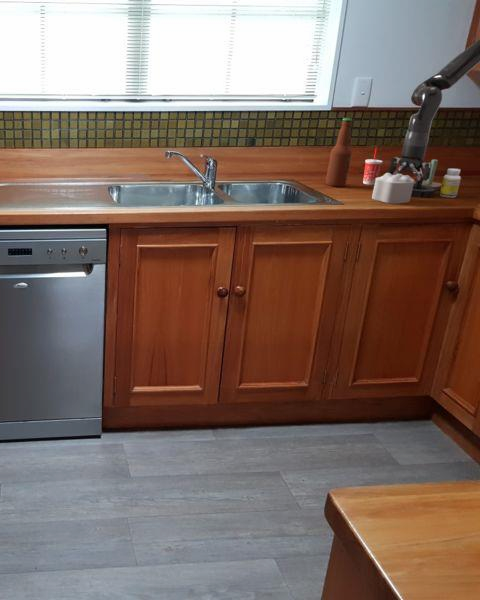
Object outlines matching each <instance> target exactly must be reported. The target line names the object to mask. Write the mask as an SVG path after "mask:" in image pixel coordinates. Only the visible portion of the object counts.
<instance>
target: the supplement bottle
mask: <svg viewBox="0 0 480 600" xmlns="http://www.w3.org/2000/svg"><path fill="white" fill-rule="evenodd" d="M460 174H461V169H460V168H447V171H446V174H445V175H444V176H443V179H442V182H441V184H442V186H441V189H440V190H439V196H440V197H443V198H448V199H454V198H456V197H457V196H458V191H459V187H460V183H461V179H462V177H461V175H460Z"/></svg>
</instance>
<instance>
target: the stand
mask: <svg viewBox="0 0 480 600" xmlns="http://www.w3.org/2000/svg"><path fill="white" fill-rule="evenodd" d="M438 162H439V161H438V159H431V162H430V163H432V166H431V171H430V177H429V179H426V180H423V182H422V186H428V187H432V188H434V189H435V192H436V191H440V190H441V186H442V182H441V183H440V182H436V181H435V182H434V178H435V174H436V169H437V166H438ZM414 185H416V181H414Z"/></svg>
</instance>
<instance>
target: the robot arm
mask: <svg viewBox="0 0 480 600" xmlns="http://www.w3.org/2000/svg"><path fill="white" fill-rule="evenodd" d="M479 63H480V38H478V39H477V40H476V41H475V42H473V44H471V45H470V46H469V47H466V49H464V50H463V51H462V52H460V53H459V54H458V55H456V56H455V57H453V59H451V60H450V61H449V62H448V63H447V64H445V66H443V67H442V68H441V69H440V70H439V71H438V72H437V73H435V74H434V75H431V76H430V77H429V78H427V79H426V80H424V81H423V82H421V83H420V84H419V85H417V86H416V87H415V88H414V89H413V91H412V93H411V96H410V101H411V103H412V104H413V105H415V106H417V107H419V110H418V112H417V113H414V114H412V115H411V117H410V119H409V123H408V128H407V131H406V134H405V136H404V140H403V147H402V151H401V157H400V158H399V157H398V156H396V157H392V158H391V161H390V164H389V168H388V172H387V173H390V174H391V175H397V174H402V173H403V172H407V173H410V174H413V175H414V176H415V178H416V181H415V182H416V185H415V189H418V190H419V189H421V186H422V182H423V180H425V181H427V179H429V177H430V171H431V166H432V163H431V162H424V159H425V156H426V152H427V147H428V143H429V139H430V131H431V127H432V123H433V120H434V118H435V116H436V114H437V112H438V110H439V108H440V106H441V104H442V102H443V91H445V90H449V89H451V88H452V87H454V86H455V85H457V83H458V82H459V81H460V80H462V78H464V77H465V76H466V75H467V74H468V73H469V72H470V71H471V70H473V69H474V68H475V67H476V66H477V65H479ZM398 164H399V165H400V166H399V167H397V166H398ZM421 168H423V171H422V169H421Z"/></svg>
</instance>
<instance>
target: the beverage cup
mask: <svg viewBox="0 0 480 600" xmlns="http://www.w3.org/2000/svg"><path fill="white" fill-rule="evenodd" d="M377 151H378V147H375V151H374V156H373V159H372V158H371V159H370V158H368V159H365V161H364V163H365V165H364V173H363V181H362V184H364V185H368V186H369V185H370V186H374V185H375V180H376V178H377V177H379V174H380V170H381V167H382V164H383V162H384V161H383V160H380V159H376V157H377Z"/></svg>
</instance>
